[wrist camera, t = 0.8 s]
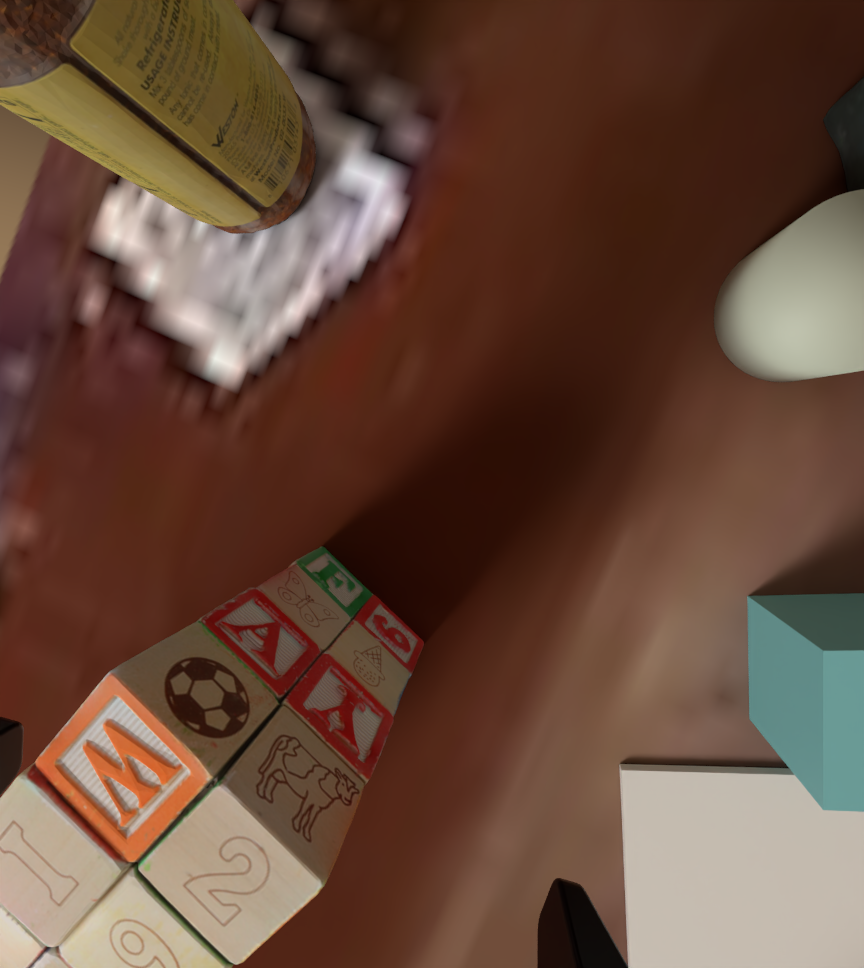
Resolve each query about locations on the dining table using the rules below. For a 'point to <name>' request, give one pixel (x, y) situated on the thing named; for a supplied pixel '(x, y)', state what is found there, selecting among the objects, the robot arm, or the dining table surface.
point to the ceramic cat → (849, 134)
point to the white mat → (738, 871)
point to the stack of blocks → (205, 781)
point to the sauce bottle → (164, 101)
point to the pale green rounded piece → (799, 298)
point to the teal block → (811, 690)
